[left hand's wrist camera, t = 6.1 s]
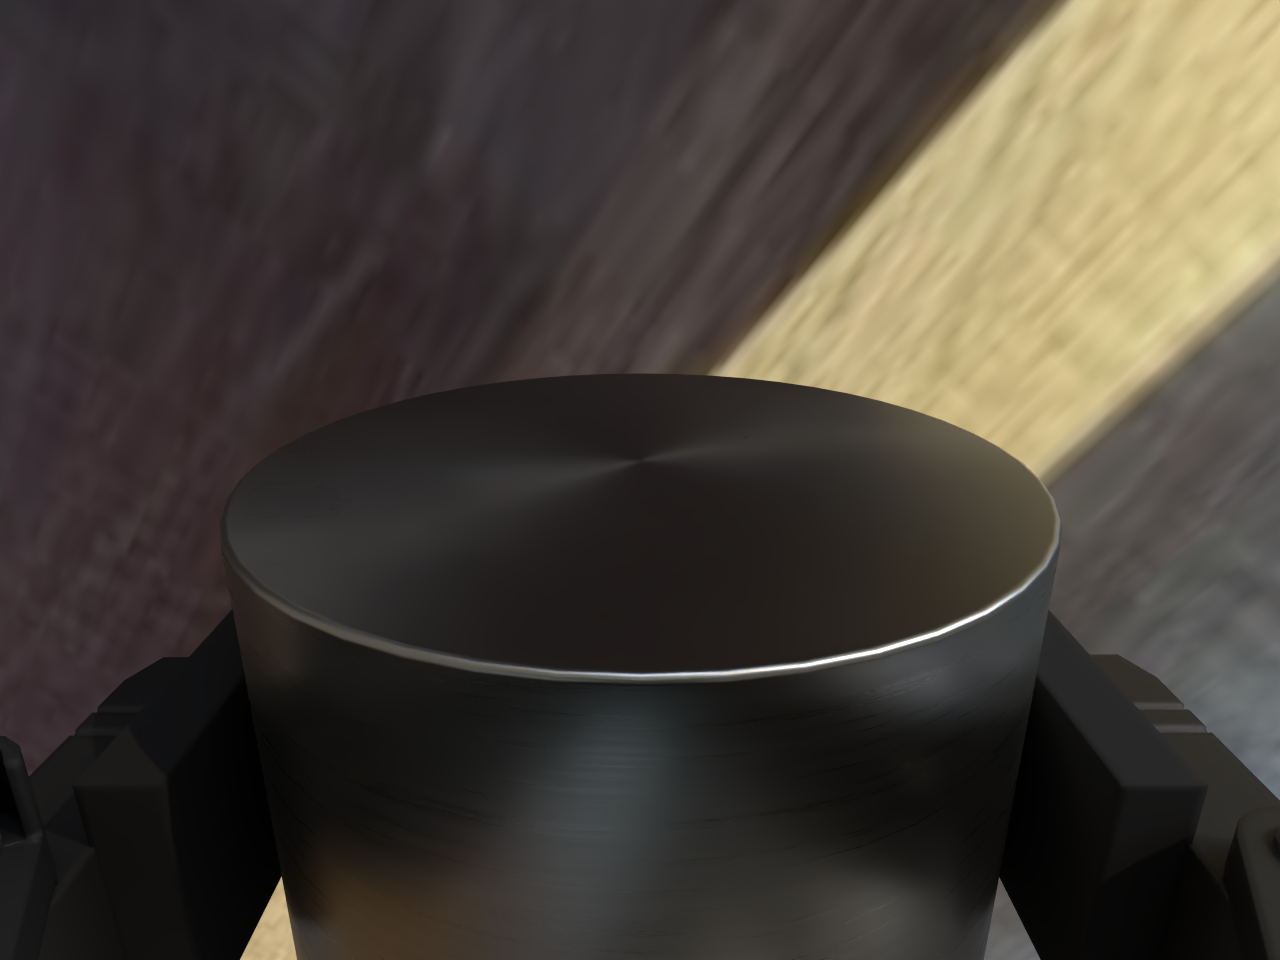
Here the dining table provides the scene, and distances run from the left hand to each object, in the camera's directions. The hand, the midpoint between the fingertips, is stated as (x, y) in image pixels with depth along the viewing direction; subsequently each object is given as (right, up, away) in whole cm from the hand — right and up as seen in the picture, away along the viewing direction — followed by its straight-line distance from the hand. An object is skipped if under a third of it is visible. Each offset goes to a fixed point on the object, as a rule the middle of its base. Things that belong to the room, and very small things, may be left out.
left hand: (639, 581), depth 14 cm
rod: (0, -7, +3) cm, 8 cm away
